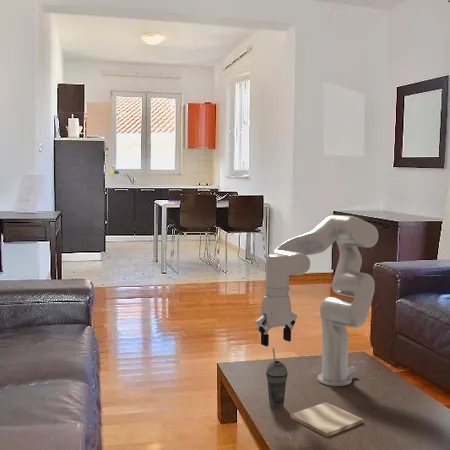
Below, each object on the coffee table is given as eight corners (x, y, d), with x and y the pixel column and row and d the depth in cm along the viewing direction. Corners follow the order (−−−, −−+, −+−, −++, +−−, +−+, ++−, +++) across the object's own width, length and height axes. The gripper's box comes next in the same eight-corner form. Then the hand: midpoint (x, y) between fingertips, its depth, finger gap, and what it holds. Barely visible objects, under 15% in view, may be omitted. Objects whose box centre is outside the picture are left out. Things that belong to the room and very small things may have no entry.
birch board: (325, 405, 189) (325, 402, 188) (363, 422, 176) (363, 419, 176) (290, 417, 179) (290, 414, 179) (326, 437, 166) (326, 433, 166)
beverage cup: (286, 412, 183) (286, 352, 181) (264, 410, 185) (264, 351, 183) (288, 403, 191) (288, 345, 189) (267, 401, 192) (267, 344, 190)
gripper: (289, 287, 192) (287, 336, 193) (249, 292, 182) (248, 344, 183) (304, 290, 186) (303, 341, 187) (263, 296, 176) (263, 350, 177)
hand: (276, 342), depth 185 cm, fingers open, 9 cm apart
